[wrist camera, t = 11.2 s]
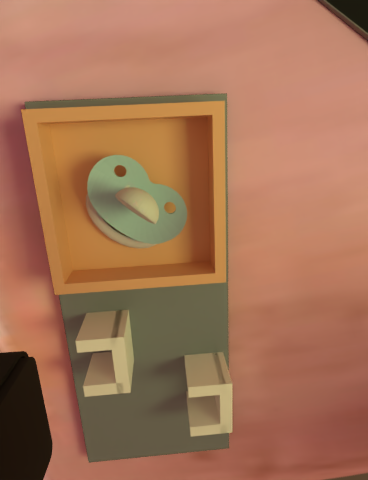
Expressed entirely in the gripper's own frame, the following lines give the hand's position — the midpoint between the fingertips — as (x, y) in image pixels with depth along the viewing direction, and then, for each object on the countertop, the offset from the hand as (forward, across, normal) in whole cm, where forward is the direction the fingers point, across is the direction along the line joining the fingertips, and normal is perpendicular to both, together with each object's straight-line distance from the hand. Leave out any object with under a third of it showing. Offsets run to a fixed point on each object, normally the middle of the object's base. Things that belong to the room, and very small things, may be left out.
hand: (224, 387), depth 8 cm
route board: (+20, +4, +8) cm, 21 cm away
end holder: (+18, +4, -2) cm, 19 cm away
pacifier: (+18, +4, -1) cm, 19 cm away
